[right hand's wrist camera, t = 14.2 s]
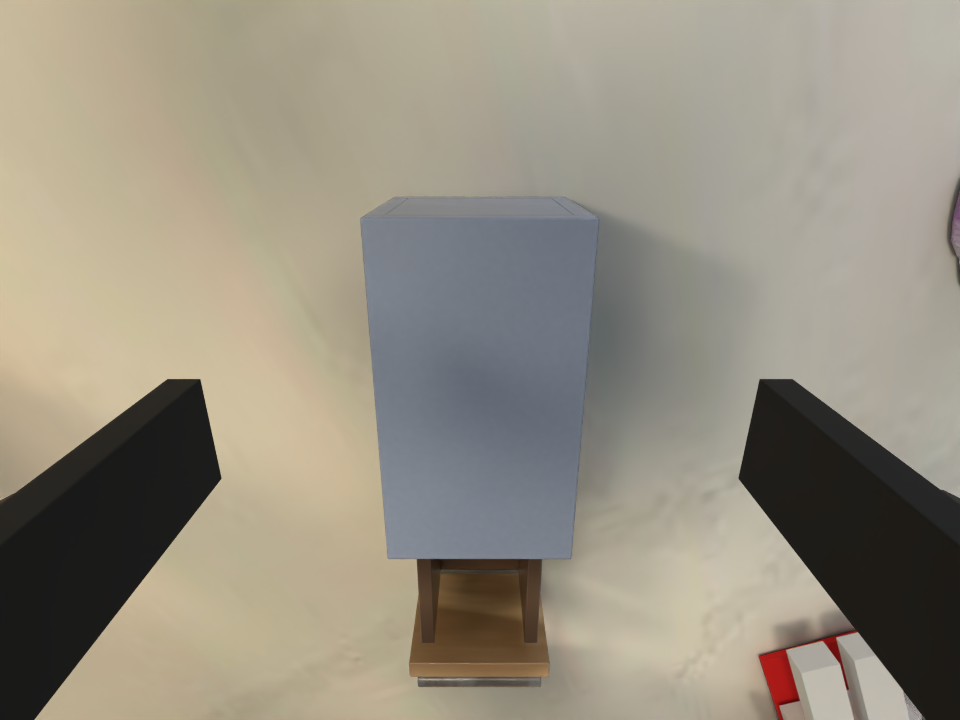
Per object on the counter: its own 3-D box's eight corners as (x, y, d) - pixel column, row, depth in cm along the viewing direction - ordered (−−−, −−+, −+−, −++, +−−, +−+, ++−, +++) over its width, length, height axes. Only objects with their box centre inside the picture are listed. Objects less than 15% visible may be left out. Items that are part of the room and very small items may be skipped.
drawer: (534, 635, 42) (545, 731, 35) (424, 635, 42) (413, 731, 35) (547, 384, 34) (565, 445, 27) (411, 384, 34) (393, 445, 27)
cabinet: (550, 463, 37) (571, 559, 29) (408, 463, 37) (387, 559, 29) (565, 197, 31) (599, 217, 22) (393, 196, 31) (359, 217, 22)
